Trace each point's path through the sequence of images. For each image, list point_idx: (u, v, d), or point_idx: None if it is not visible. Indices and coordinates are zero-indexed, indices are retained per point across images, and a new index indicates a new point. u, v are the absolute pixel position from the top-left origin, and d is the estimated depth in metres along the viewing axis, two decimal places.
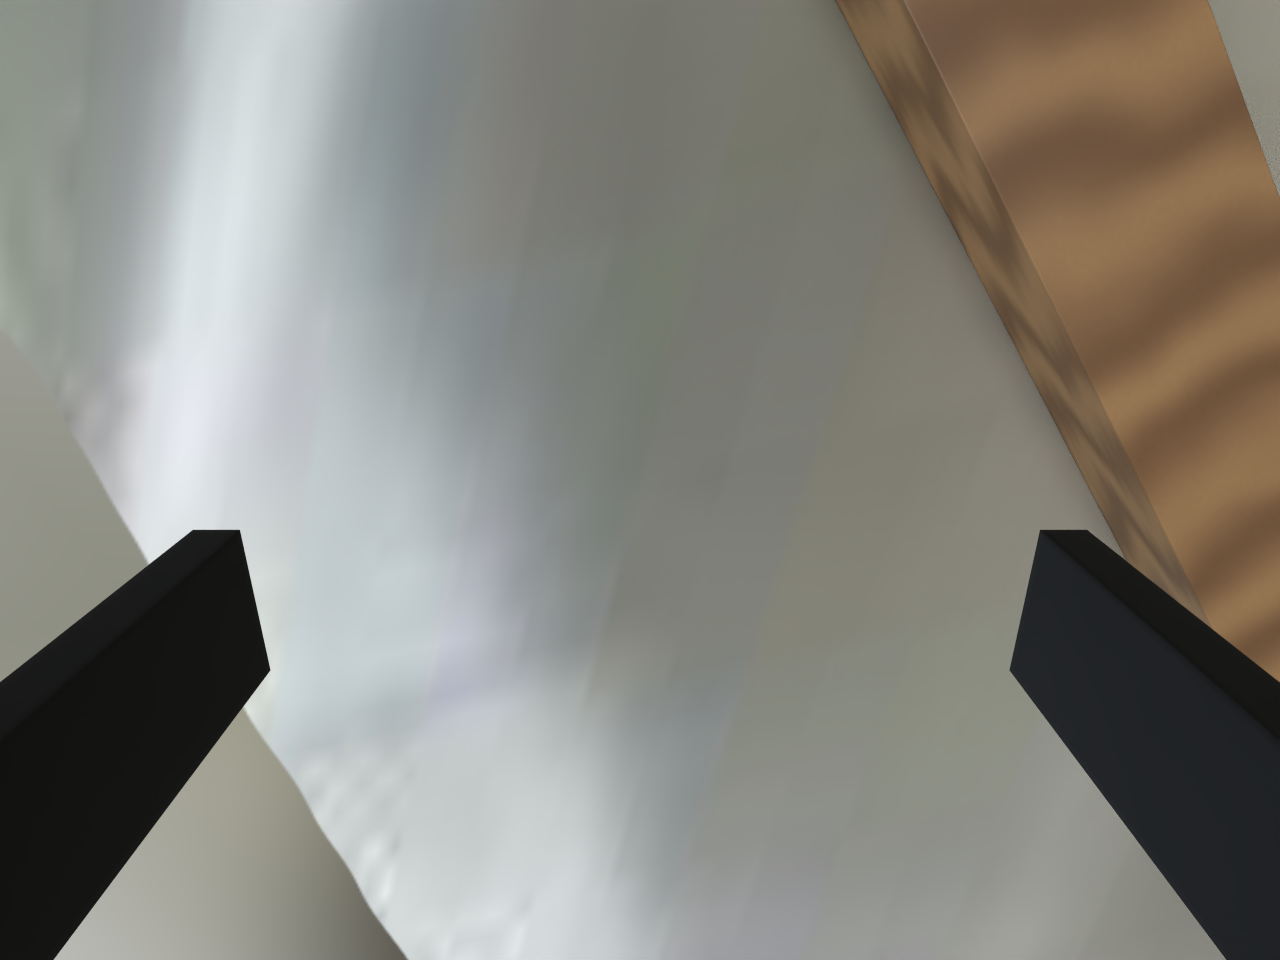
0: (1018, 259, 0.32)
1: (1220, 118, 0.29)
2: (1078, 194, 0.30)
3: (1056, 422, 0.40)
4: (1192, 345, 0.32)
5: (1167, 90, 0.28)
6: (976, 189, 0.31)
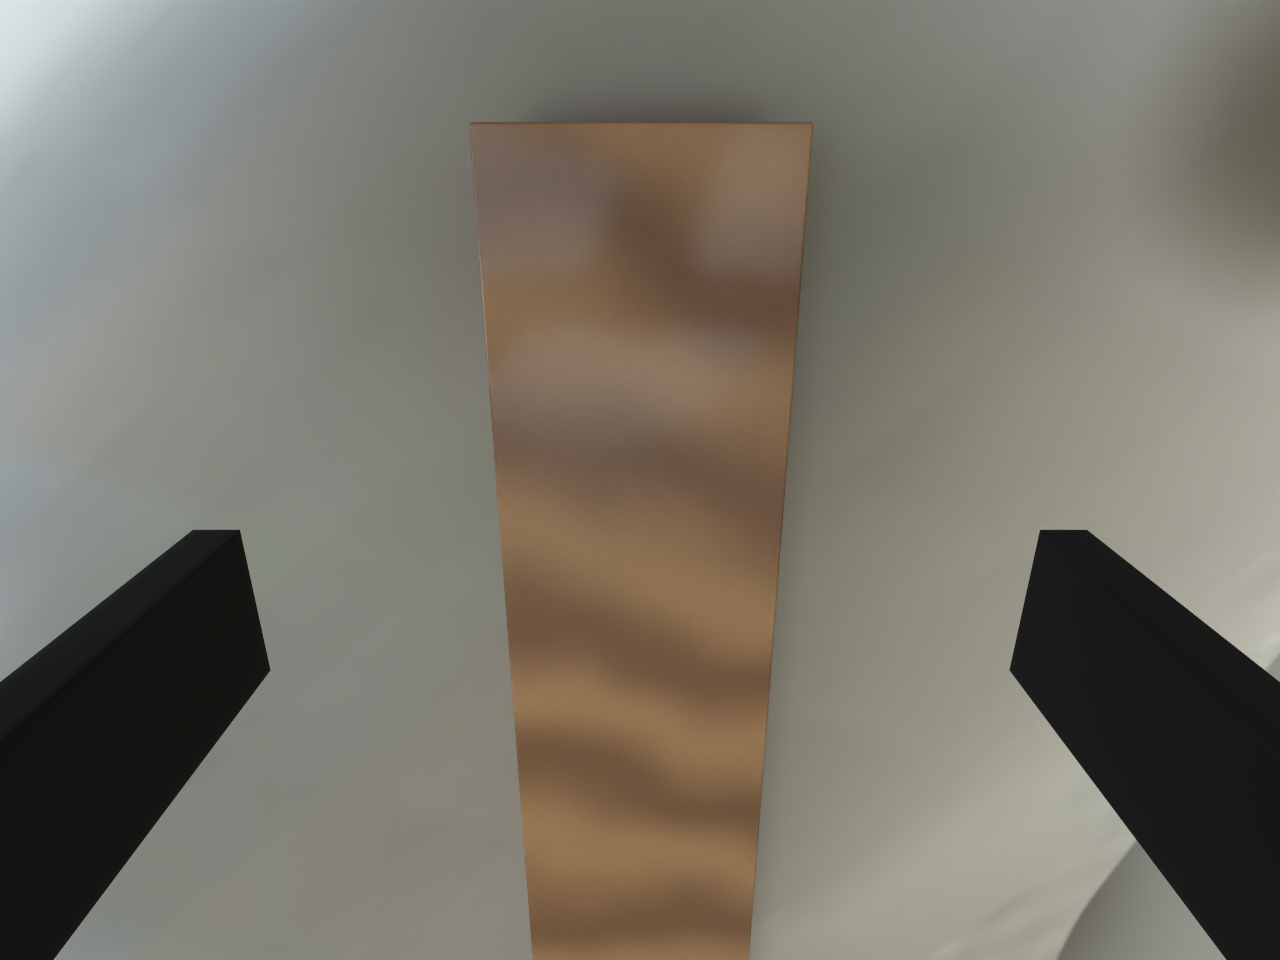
0: None
1: (734, 814, 0.28)
2: (588, 802, 0.28)
3: None
4: (631, 957, 0.31)
5: (701, 770, 0.28)
6: None
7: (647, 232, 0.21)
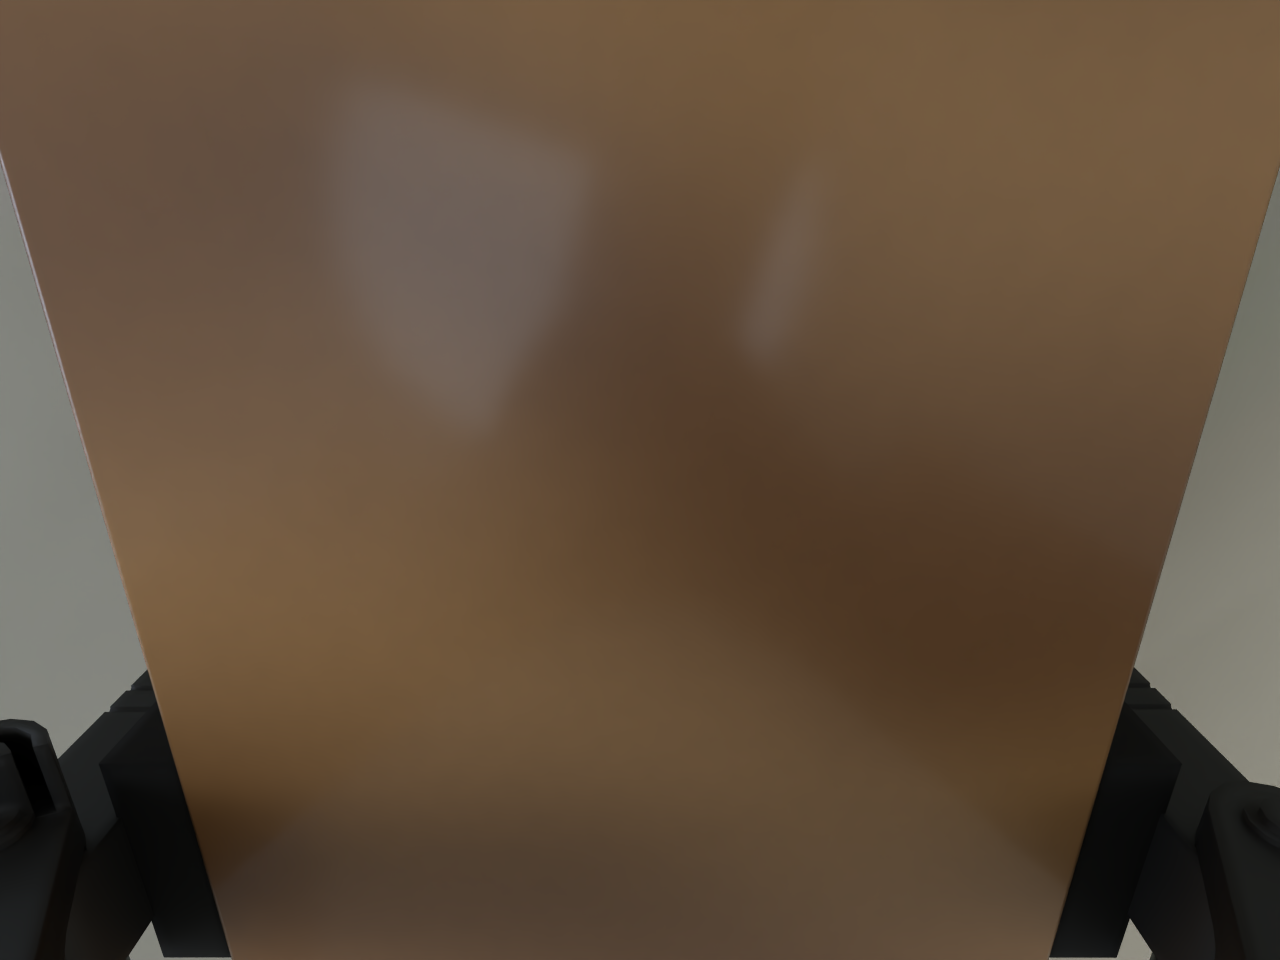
0: None
1: None
2: None
3: None
4: None
5: None
6: None
7: (663, 370, 0.06)
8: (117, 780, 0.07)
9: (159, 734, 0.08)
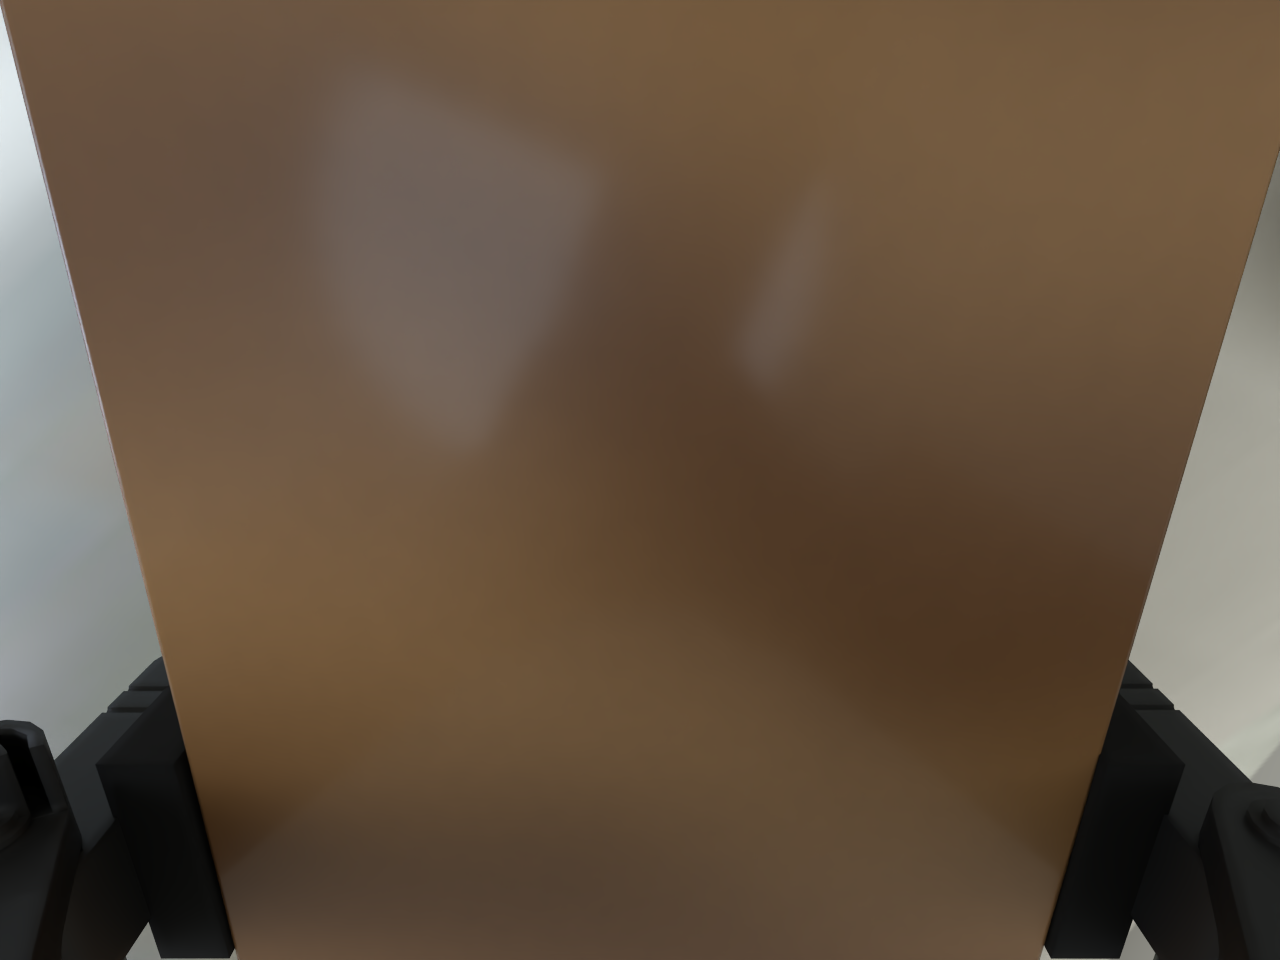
0: None
1: None
2: None
3: None
4: None
5: None
6: None
7: (677, 375, 0.06)
8: (114, 781, 0.07)
9: (156, 735, 0.08)
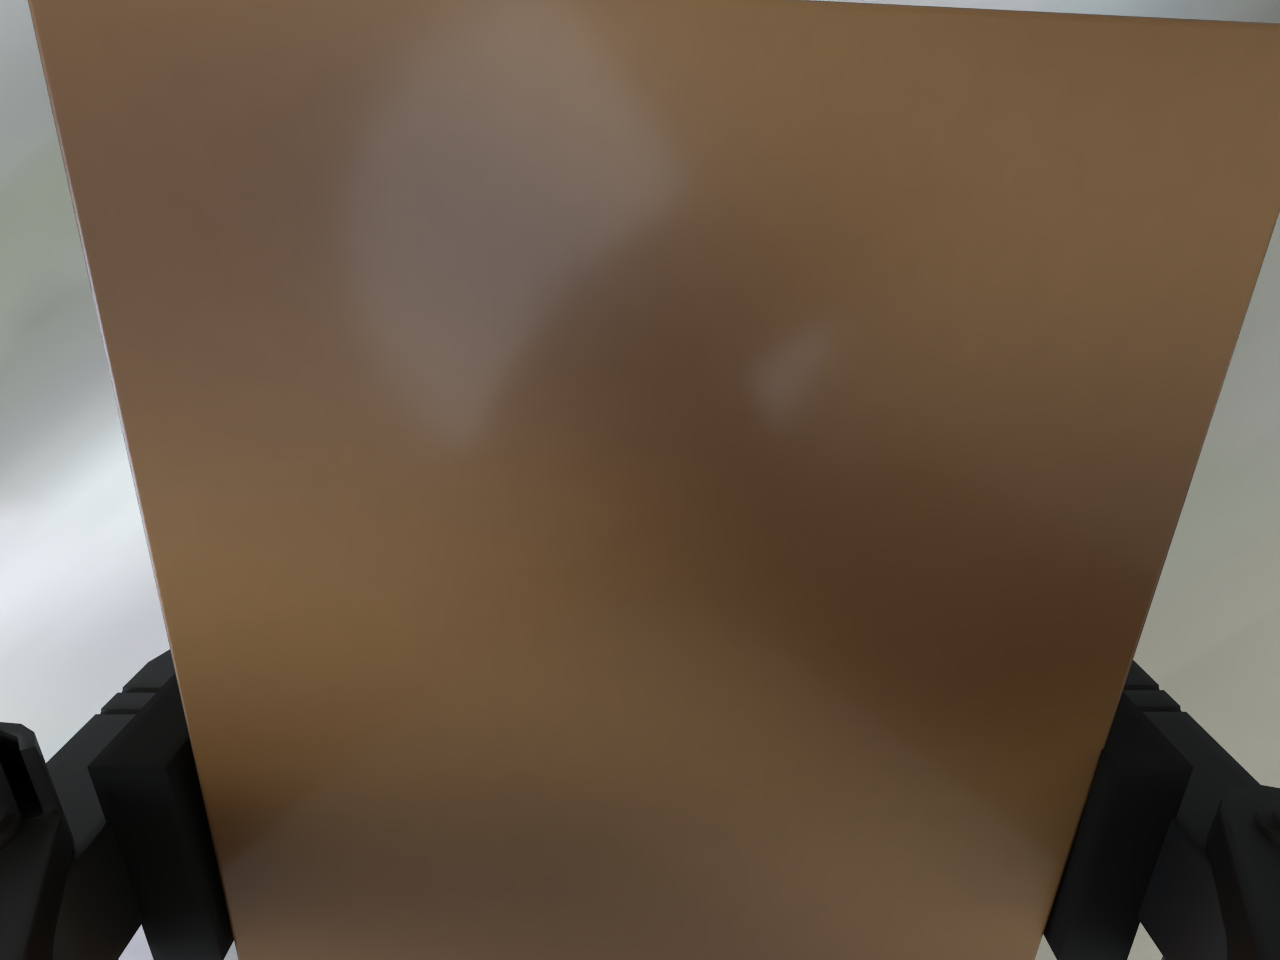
0: None
1: None
2: None
3: None
4: None
5: None
6: None
7: (694, 388, 0.06)
8: (106, 783, 0.07)
9: (148, 737, 0.08)
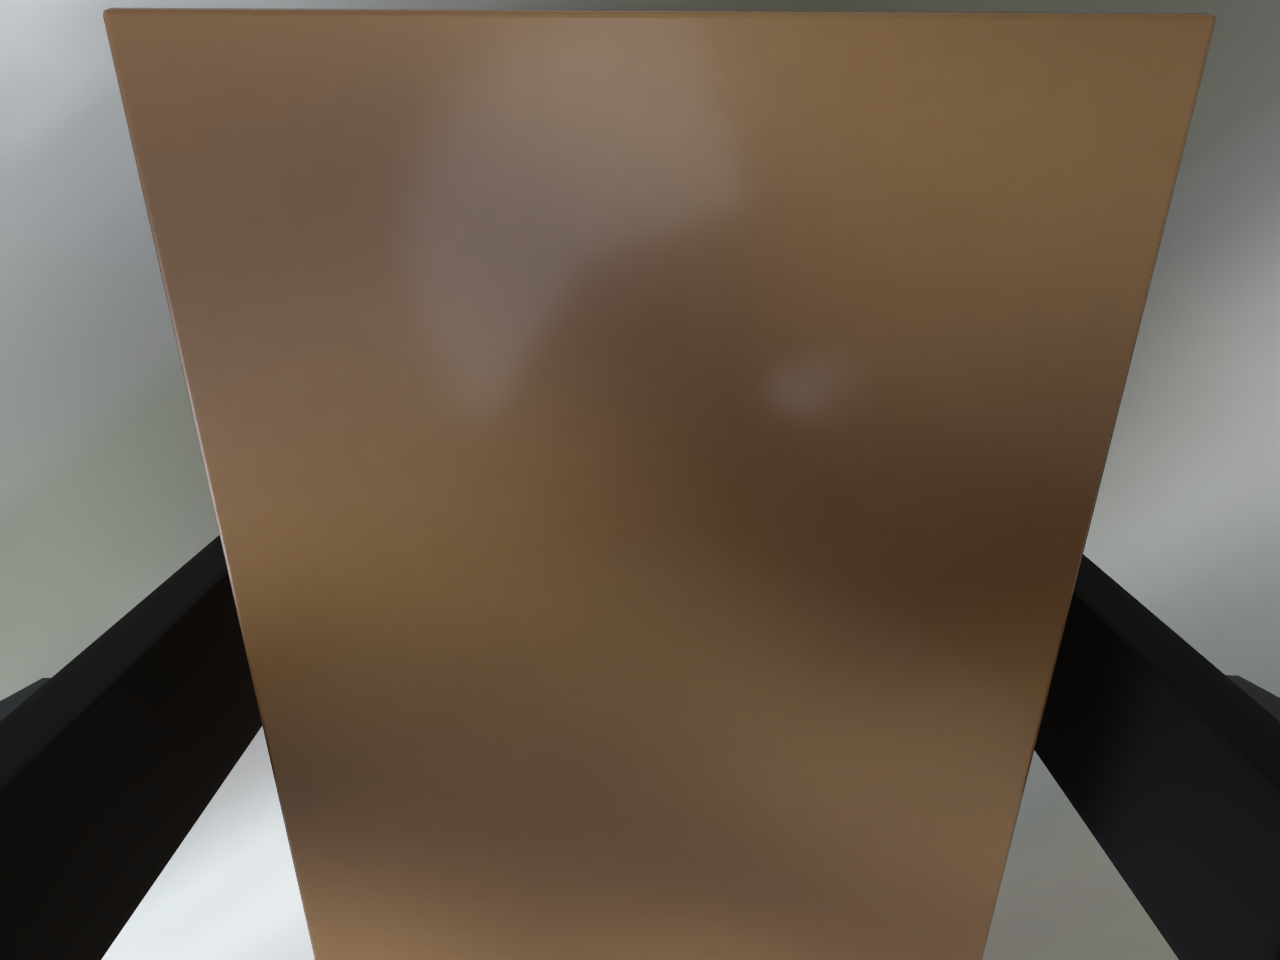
0: None
1: None
2: None
3: None
4: None
5: None
6: None
7: (675, 348, 0.07)
8: None
9: None
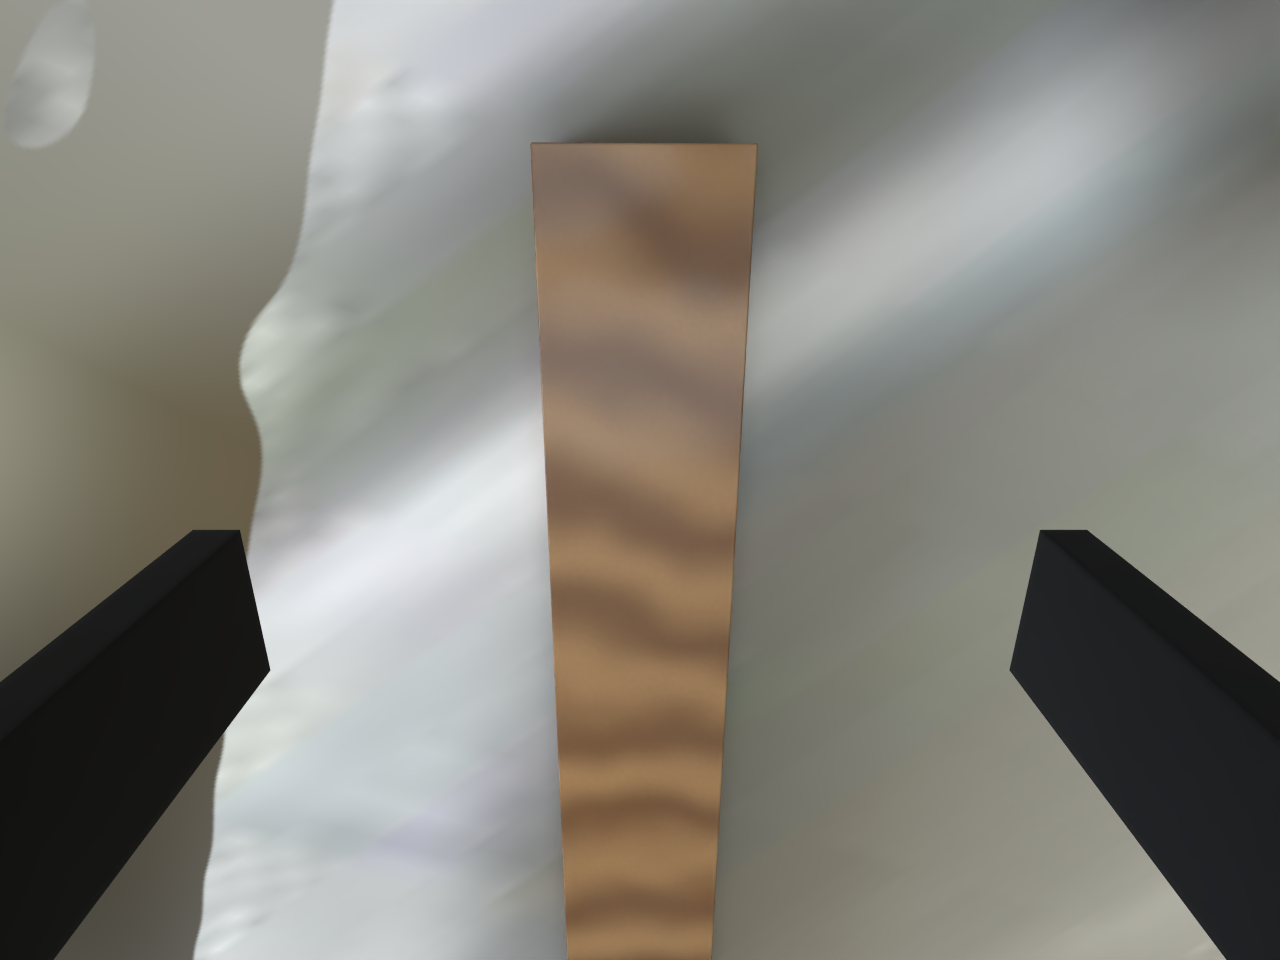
0: None
1: (710, 648, 0.39)
2: (602, 638, 0.38)
3: None
4: (633, 768, 0.41)
5: (685, 613, 0.38)
6: None
7: (648, 216, 0.31)
8: None
9: None
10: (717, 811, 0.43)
